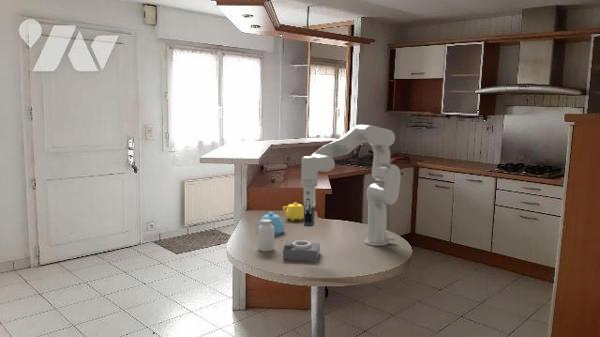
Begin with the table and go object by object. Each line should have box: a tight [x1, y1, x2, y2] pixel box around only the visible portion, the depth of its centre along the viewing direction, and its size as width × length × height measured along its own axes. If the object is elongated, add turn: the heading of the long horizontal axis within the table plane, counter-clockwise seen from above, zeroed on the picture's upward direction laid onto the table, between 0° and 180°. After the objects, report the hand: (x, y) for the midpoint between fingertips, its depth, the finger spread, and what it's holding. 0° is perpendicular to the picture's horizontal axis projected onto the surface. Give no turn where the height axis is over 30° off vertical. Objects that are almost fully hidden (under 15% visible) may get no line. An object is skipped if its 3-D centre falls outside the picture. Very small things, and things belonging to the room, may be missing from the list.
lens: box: [303, 206, 315, 228], centre depth 219 cm, size 5×5×9 cm
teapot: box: [282, 202, 304, 222], centre depth 294 cm, size 18×11×11 cm, turn 105°
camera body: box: [282, 240, 321, 262], centre depth 222 cm, size 16×12×7 cm
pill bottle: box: [257, 219, 275, 252], centre depth 232 cm, size 8×8×15 cm
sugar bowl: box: [257, 211, 285, 236], centre depth 263 cm, size 15×15×12 cm
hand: (308, 220), depth 220 cm, fingers closed on lens, 5 cm apart
